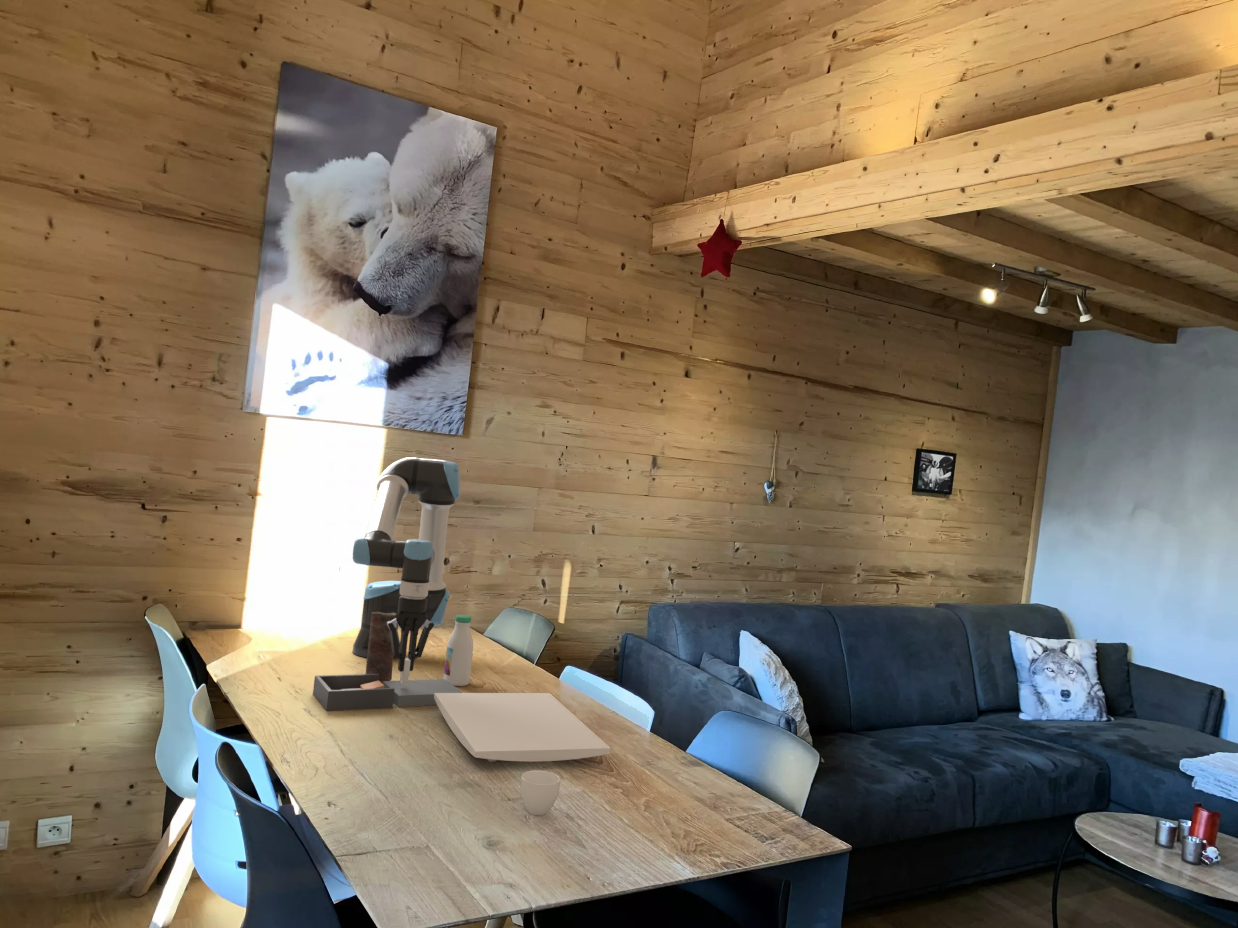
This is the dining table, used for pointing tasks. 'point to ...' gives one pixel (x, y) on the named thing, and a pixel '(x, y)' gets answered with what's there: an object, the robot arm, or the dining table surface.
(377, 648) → the candle
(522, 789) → the cup
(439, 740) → the dining table surface
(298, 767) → the dining table surface
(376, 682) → the tile terracotta
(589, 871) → the dining table surface
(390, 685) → the slate board
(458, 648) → the milk bottle
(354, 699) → the box
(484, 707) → the board
